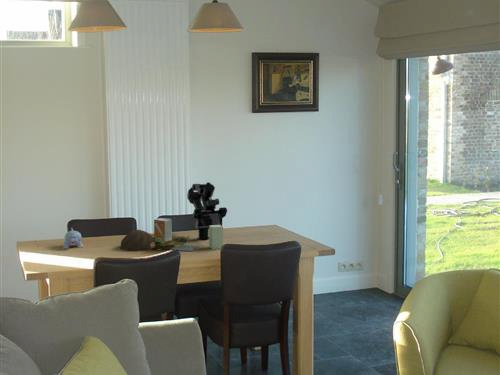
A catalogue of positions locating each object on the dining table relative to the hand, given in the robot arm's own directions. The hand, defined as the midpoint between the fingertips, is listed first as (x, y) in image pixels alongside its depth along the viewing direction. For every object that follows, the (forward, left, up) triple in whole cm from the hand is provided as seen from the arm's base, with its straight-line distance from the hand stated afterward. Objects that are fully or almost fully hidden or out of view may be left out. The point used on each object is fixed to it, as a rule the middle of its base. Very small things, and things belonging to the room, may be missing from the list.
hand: (213, 225), depth 403 cm
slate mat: (+12, -13, -12) cm, 21 cm away
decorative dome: (+14, -39, -12) cm, 43 cm away
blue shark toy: (+21, -74, -12) cm, 77 cm away
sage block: (+5, +3, -12) cm, 13 cm away
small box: (-3, -30, -12) cm, 33 cm away
